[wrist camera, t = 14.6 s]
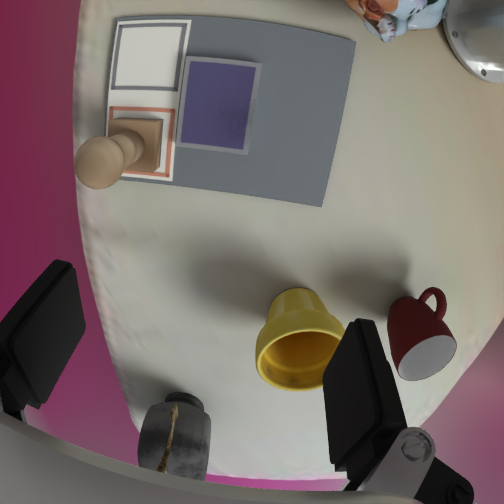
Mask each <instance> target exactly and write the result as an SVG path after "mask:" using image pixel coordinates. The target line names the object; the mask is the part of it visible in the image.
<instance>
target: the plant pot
mask: <svg viewBox="0 0 504 504" xmlns="http://www.w3.org/2000/svg"><path fill="white" fill-rule="evenodd" d="M344 333H345V330H344V327H343V326H342V324H341V323H340V321H339V320H338V319H336V318H335V317H334V316H332V315H331V314H330V313H329V312H328V310H327V309H326V307H325V306H324V304H323V303H322V301H321V299H320V298H319V297H318V295H317V294H315V293H314V292H312V291H310V290H308V289H303V288H294V289H289V290H286V291H284V292H282V293H280V294H279V295H278V296H277V297H276V298H275V299H274V300H273V302H272V304H271V307H270V311H269V314H268V318H267V321H266V325H265V326H264V327H263V328H262V329H261V331H260V333H259V335H258V337H257V342H256V357H255V358H256V368H257V371H258V373H259V375H260V376H261V377H262V379H263V380H264V381H266V382H267V383H268V384H270V385H272V386H274V387H276V388H279V389H282V390H287V391H309V390H314V389H318V388H321V387H323V382H322V378H323V373H324V371H325V369H326V367H327V365H328V363H329V361H330V360H331V358H332V356H333V354H334V352H335V350H336V348H337V346H338V344H339V342H340V340H341V339H342V337H343V335H344Z"/></svg>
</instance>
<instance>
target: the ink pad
mask: <svg viewBox="0 0 504 504" xmlns="http://www.w3.org/2000/svg"><path fill="white" fill-rule="evenodd" d="M261 69H262V63H255V62H248V61H240V60H231V59H221V58H209V57H195V56H186V62H185V69H184V76H183V84H182V92H181V100H180V109H179V118H178V127H177V138H176V147H186V148H195V149H204V150H212V151H220V152H228V153H235V154H242V155H248V150H249V144H250V137H251V131H252V125H253V118H254V112H255V106H256V100H257V93H258V87H259V81H260V75H261Z"/></svg>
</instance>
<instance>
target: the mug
mask: <svg viewBox="0 0 504 504" xmlns="http://www.w3.org/2000/svg"><path fill="white" fill-rule="evenodd" d="M433 294H434V295H435V297H436V301H437V307H436V311H435V312H434V311H433V310H432V309H431V308H430V307H429V306H428V305H427V304H426V303H425V302H426V300H427V299H428V298H429V297H430V296H431V295H433ZM446 308H447V302H446V297H445V295H444V293H443V292H442V291H441V290H440V289H438V288H436V287H430V288H427V289H426V290H425V291H424V292H423V293H422V294H421V296H420V297H419V299H415V298H411V297H403V298H400V299H398V300H397V301H396V302H394V304H393V305H392V306H391V309H390V312H389V316H388V321H387V331H388V337H389V343H390V349H391V355H392V359H393V362H394V365H395V367H396V370H397V372H398V374H399V376H400V377H401V378H402V379H404V380H408V381H417V380H422V379H425V378H428V377H430V376H432V375H434V374H436V373H437V372H439V371H440V370H441V369H443V368H444V367H445V366H446V365H447V364H448V363H449V362H450V360H451V359H452V358H453V356H454V354H455V351H456V347H457V344H456V341H455V339H454V337H453V335H452V333H451V331H450V330H449V328H448V326H447V325H446V324H445V323H444V321H443V320H442V319H443V317H444V315H445V313H446Z"/></svg>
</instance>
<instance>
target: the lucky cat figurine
mask: <svg viewBox="0 0 504 504" xmlns="http://www.w3.org/2000/svg"><path fill="white" fill-rule="evenodd" d="M345 1H346V3H347V4H348V6H349V7H350V8H351V9H352V10H354V11H355V12H356V13H357V14H358V16H359V17H360V18H361V19H362V21H363V23H364V25H365V27H366V28H367V30H368V31H370V32H371V33H372V34H374V35H376V36H377V37H378V38H380V39H381V40H382V41H383V42H385V43H387V42H392V40H393V38H394V36H395V35H396V36H400V35H403V34H404V33H406V31H407V30H414V31H416V30H425V29H432V28H434V27H436V26H437V25H438V24H439V22H440V21H441V19H445V18H446V17H448V15H447V10H448V7H449V4H450V0H345Z"/></svg>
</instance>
